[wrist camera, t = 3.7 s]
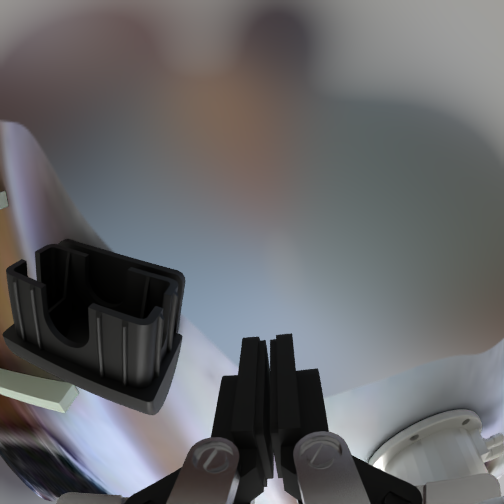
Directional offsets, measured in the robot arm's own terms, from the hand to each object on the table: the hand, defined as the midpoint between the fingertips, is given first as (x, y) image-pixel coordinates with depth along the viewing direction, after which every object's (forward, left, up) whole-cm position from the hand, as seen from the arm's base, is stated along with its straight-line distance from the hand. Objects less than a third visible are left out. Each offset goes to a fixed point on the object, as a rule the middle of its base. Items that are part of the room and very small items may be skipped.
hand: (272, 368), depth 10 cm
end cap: (+10, +1, -8) cm, 13 cm away
